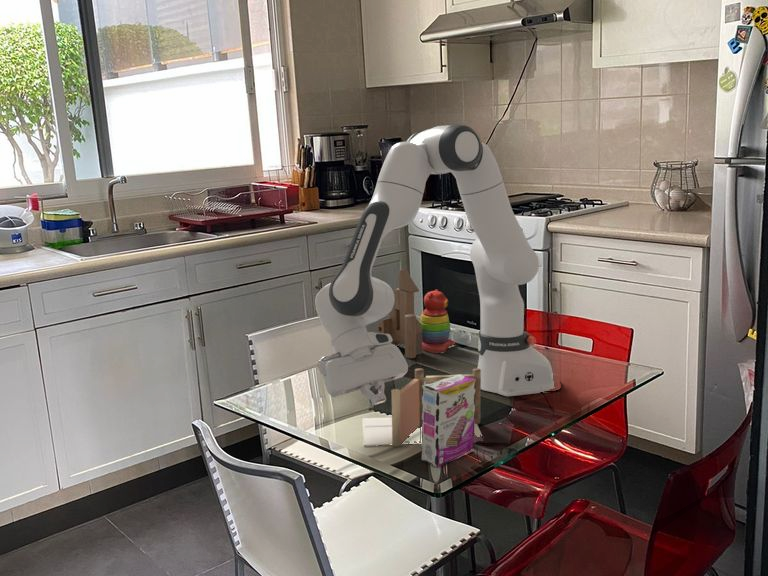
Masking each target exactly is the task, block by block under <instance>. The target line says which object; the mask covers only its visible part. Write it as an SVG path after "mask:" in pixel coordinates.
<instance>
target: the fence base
mask: <svg viewBox="0 0 768 576" xmlns="http://www.w3.org/2000/svg"><path fill="white" fill-rule="evenodd" d="M424 373H425V370H424V368H419V367H418V368H415V369H414V379H419V409H420V426H422V385H425V384H428V383H432V382H435V381H439V380H442V379H445V378H448V377H452V376H455V375H456V374H445V375H444V374H443V375H424ZM463 375H464V376H467V377H470V378H473V379H475V380H476V384H475V424H477V425H479V424H481V393H482V392H481V391H482V389H481V369H478V367H477V368H472V373H471V374H463ZM424 379H425V380H424ZM424 382H425V383H424Z"/></svg>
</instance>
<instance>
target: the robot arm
mask: <svg viewBox="0 0 768 576" xmlns="http://www.w3.org/2000/svg"><path fill="white" fill-rule="evenodd" d="M448 173H451V174H452V175H453V176H454V178H455V179H456V180H455V181H456V184H457V188H458V189H457V190H458V191H459V195H460V198H461V202H462V205H463V208H464V212H465V215H466V217H467V221H468V223H469V225H470V227H471V229H472V230H473V231H474V232H475V235H476V236H477V238H476V239H475V240H474V241H473V242H472V244H471V247H470V249H469V256H470V260H471V263H472V264H473V268H474V273H475V279H476V285H477V290H478V296H479V304H480V313H479V315H480V327H479V328H480V329H479V330H478V337H477V342H478V343H477V350H478V351H477V352H478V362H477V368H478V369H481V391H485V392H489V393H490V392H491V393H494V394H498V395H502V396H505V397H514V396H515V397H516V396H523V395H524V396H525V395H532V394H541V393H540V392H543V393H545V392H544V391H548V390H550V389H553V388H555V387H554V381H553V374H554V373H553V369H552V364H551V362H550V360H549V359H548V358H547V357H546V356H545V355H543V354H542V353H541V352H539V351H538V350H537V349H535V348H534V347H533V346H534V345H535V344H537V339H536V338H535V337H534V336H533V335H531V334H530V333H528V332H527V331H526V330H525V331H524V327H525V326H524V324H525V322H524V319H525V317H524V315H525V302H524V300H523V297H522V295H521V292H520V289H519V286H520V285H521V286H522V285H525V284H527V283H529V282H531V281H532V280H533V279H535V277H536V275H537V274H538V271H539V268H540V260H539V257H538V254H537V252H536V251H535V250H534V249H533V248H532V246H531V245H530V243H529V242H528V239H527V237H526V235H525V233H524V231H523V229H522V227H521V225H520V223H519V221H518V220H517V217H516V215H515V213H514V211H513V208H512V206H511V203H510V199H509V196H508V192H507V189H506V186H505V182H504V180H503V179H504V178H503V176H502V172H501V170H500V167H499V164H498V162H497V160H496V158H495V155H494V154H493V152H492V150H491V147H489V146H488V145H487V144H486V143H484V142H482V141H481V139H480V137H479V135H478V133H477V132H476V131H475V130H474V129H473V128H471V127H470V126H468V125H465V124H460V123H459V124H458V123H456V124H450V125H437V126H433V127H432V128H428V129H425V130H420V131H417V132H415V133H413V134H412V135H411V136H409V138H407V140H406V141H400V142H397V143H395V144H393V145H392V146H391V148H389V150H388V153H387V154H386V157H385V158H384V161H383V164H382V166H381V168H380V172H379V174H378V178H377V181H376V185H375V188H374V191H373V193H372V194H373V195H372V197H371V200H370V201H369V202H368V205H366V207H365V209H364V210H363V212H362V214H361V217H360V219H359V220H358V223H357V226H356V229H355V230H354V233H353V237H352V239H351V242H350V244H349V247H348V249H347V253H346V255H345V257H344V259H343V262H342V264H341V266H340V267H339V269H338V270H337V272H336V273H335V275H334V276H333V278H332V279H331V282H330V283H328V284H326V285H324V286H323V287H322V288H320V290H319V291H318V292H317V293H316V295H315V298H314V305H315V310H316V312H317V315H318V319H319V320H320V323H321V326H322V327H323V329H324V332H325V333H326V334H327V335H328V336H329V341H330V345H331V346H332V350H333V352H334V353H332V354H331V355H325V356H322V357H321V358H320V359H319V360H318V362H317V368H318V370H319V372H320V374H321V375H322V378H323V383H324V386H325V389H326V392H327V394H328V395H329V396H330V397H332V398H336V397H339V396H344V395H346V394H350V393H353V392H356V391H361V394H362V395H363V396H364V397H366V398H367V399H368V400H370V402H371V404H372V406H376V405H379V404H383V403H385V402H386V401H387V397H386V394H385V387H386V386H385V383H388V382H391V381H394V380H398V379H401V378H403V377H404V376H405V375H406V374H408V372H409V371H408V370H409V365H408V363H407V361H406V357H404V355H403V353H402V352H401V350H400V348H399V347H397V346H395V345H394V344H391V342H392V341H393V340H392V337H391V335H389V334H383V333H377V332H372V331H368V329H367V326H369V325H371V324H375V323H376V322H380V321H381V320H384V319H386V317H388V316H389V314H390V313H391V311H392V309H393V307H394V304H395V294H394V291H395V290H394V289H393V287H392V286H391V285H390V284H389V283H387V282H386V281H383V280H381V279H380V278H376V277H374V276H372V269H373V266H374V263H375V262H376V259H377V255H378V253H379V250H380V247H381V245H382V242H383V240H384V238H385V236H387V234H388V233H389V232H391V231H393V230H396V229H402V228H403V227H406V226H408V225H409V224H411V223H412V222H413V221H414V220H415V218H416V216H417V215H418V213H419V211H420V209H421V208H420V207H421V204H422V201H423V197H424V193H425V188H426V182H427V181H428V178H429V177H430V176H431V175H445V174H448ZM373 386H374V388H375V390H377V393H374V392H373V391H372V390H370V389H371V388H372V387H373Z"/></svg>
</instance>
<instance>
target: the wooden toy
mask: <svg viewBox="0 0 768 576" xmlns="http://www.w3.org/2000/svg"><path fill="white" fill-rule="evenodd" d="M393 291H394V294H395V304H394V307H393V309H392V311H391V313H390V314H389V315H388V316H389V318H384V319H381V320H379V321H378V323H377V325H376V333H383V334H389V335H391V337H392V340H393V341H392V342H391V344H394V345H398V344H400V343H402V344H403V345H404V348H405V349H404V356H406V357H407V358H406V357H405V358H406V359H409V358H410V360H411V359H415V358H416V357H417V356H418V355H421V354H423V349H422V324H421V323H420V320H418V319H417V316H416V314H415V293H418V292H420V290H419V287H418V286H417V285H416V283H415V281H414V280H413V278H412V276H411V275H410V274H409V272H408V271H407V269H406V268H402V269H399V270H398V288H395V289H394V290H393Z"/></svg>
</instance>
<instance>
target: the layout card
mask: <svg viewBox="0 0 768 576" xmlns="http://www.w3.org/2000/svg"><path fill="white" fill-rule="evenodd" d="M361 422H362V424H361V425H362V438H363V447H365V448H367V447H377V446H376V445H390V444H392V416H390V417H368V418H367V417H366V418H365V417H364V418H361ZM421 427H422V426H419V427H418V428H420V441H419V443H421ZM474 433H475V435H476V436H477V437H480V435H481V436H483V434H482V432H481V430H480V428H479V424H475V423H474ZM409 437H410V436H408V437H407V438H409ZM407 438H406V439H407ZM406 439H405V440H406ZM405 440H404V441H405ZM404 441H403V442H404ZM403 442H402V443H403ZM402 443H401V444H402ZM405 443H408V444H409V443H410V442H409V441H405ZM414 443H417V442H416V441H414Z"/></svg>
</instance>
